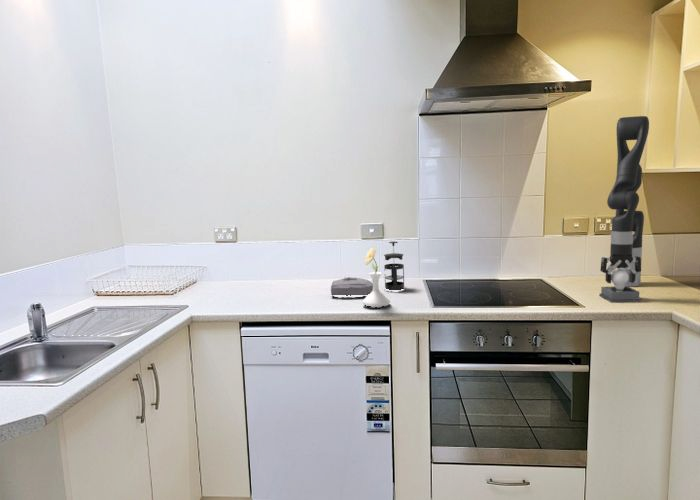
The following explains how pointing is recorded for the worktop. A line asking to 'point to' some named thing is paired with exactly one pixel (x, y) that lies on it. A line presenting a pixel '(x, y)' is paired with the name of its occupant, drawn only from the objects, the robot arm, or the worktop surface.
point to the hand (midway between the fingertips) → (620, 282)
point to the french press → (394, 271)
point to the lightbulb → (619, 279)
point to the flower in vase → (374, 285)
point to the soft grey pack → (351, 287)
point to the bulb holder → (620, 295)
